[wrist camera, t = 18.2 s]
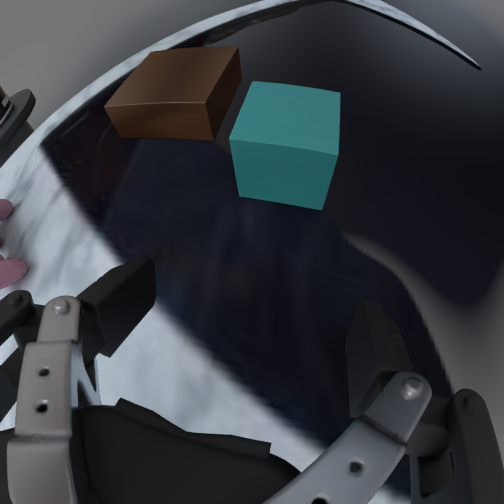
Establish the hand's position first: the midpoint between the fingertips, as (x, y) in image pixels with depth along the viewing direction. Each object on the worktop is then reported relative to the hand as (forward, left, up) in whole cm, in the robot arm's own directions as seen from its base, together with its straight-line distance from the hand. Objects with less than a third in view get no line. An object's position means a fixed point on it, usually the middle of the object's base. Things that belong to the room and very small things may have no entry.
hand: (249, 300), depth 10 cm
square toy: (+4, +10, -5) cm, 12 cm away
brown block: (-3, +20, -5) cm, 21 cm away
